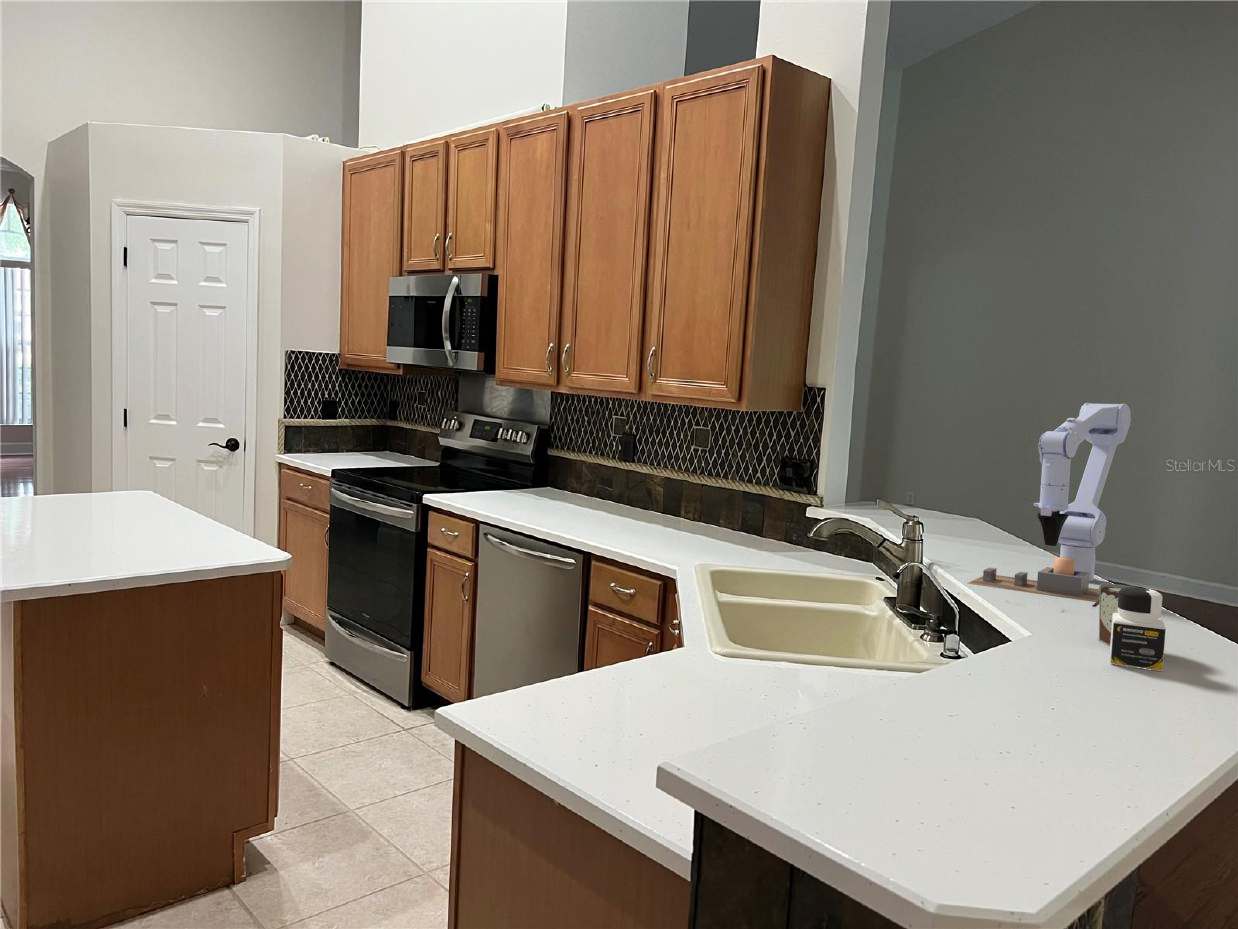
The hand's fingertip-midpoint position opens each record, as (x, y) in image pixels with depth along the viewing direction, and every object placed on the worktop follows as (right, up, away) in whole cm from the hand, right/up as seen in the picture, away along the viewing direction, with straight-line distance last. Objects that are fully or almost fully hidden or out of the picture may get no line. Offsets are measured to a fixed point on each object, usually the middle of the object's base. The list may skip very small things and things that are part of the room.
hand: (1050, 545), depth 204 cm
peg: (0, -9, -6) cm, 11 cm away
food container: (-10, -13, -50) cm, 52 cm away
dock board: (-4, -10, -3) cm, 11 cm away
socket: (0, -10, -6) cm, 12 cm away
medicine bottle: (-15, -14, -59) cm, 62 cm away
